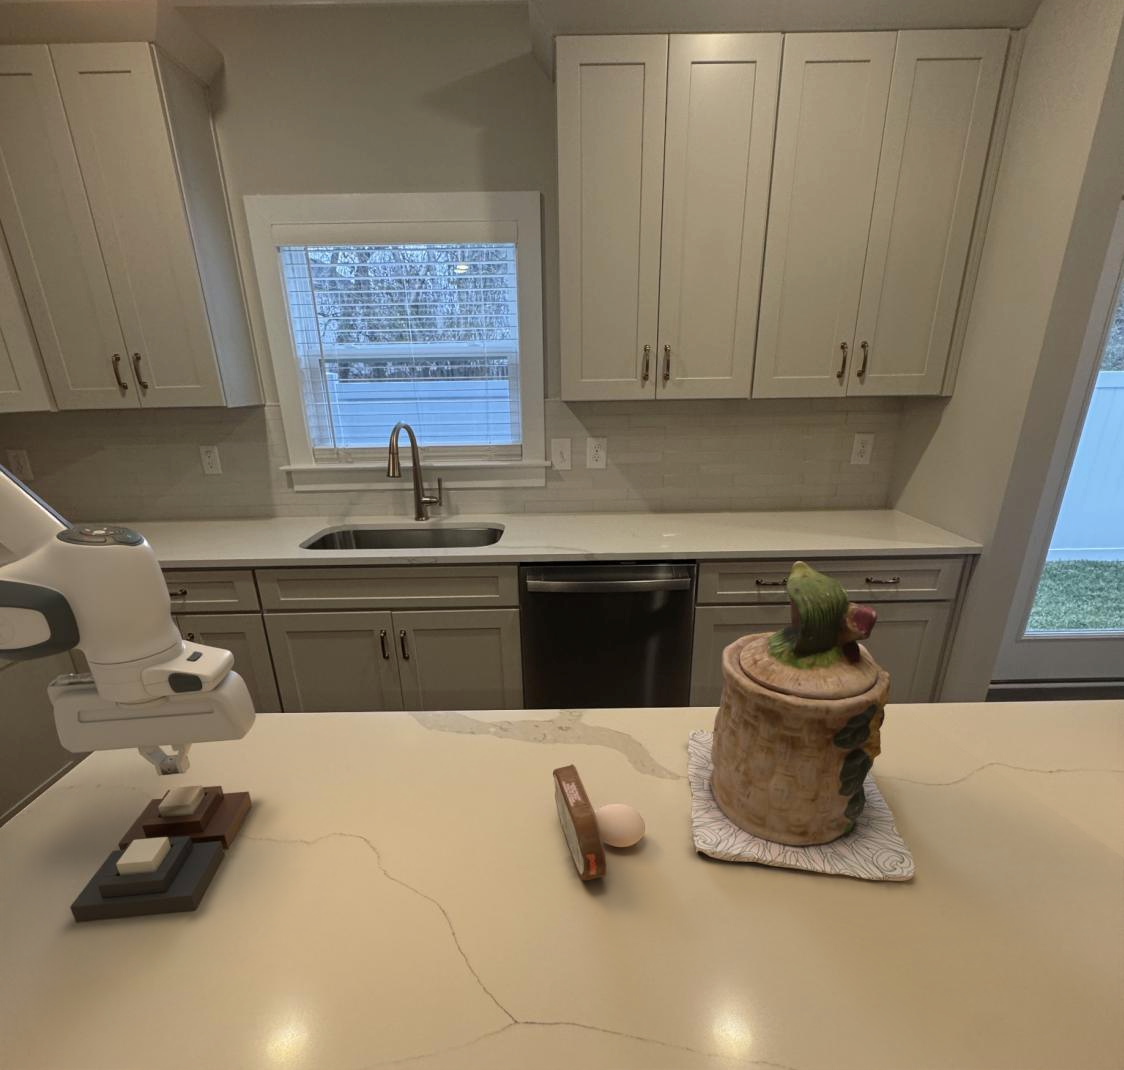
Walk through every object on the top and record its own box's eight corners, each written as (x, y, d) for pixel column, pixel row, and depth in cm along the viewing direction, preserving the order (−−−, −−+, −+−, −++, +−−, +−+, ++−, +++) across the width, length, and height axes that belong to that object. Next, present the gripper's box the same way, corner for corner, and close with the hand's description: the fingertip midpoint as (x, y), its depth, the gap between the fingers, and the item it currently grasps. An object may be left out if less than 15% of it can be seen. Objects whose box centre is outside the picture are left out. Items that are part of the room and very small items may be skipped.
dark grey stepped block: (75, 922, 65) (63, 894, 63) (118, 865, 72) (108, 838, 70) (195, 910, 66) (186, 882, 64) (225, 855, 73) (217, 828, 72)
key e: (161, 818, 74) (157, 806, 73) (175, 798, 77) (172, 787, 77) (193, 816, 74) (189, 804, 74) (205, 796, 78) (202, 785, 77)
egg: (642, 859, 71) (585, 851, 73) (645, 833, 76) (592, 825, 77) (644, 823, 70) (586, 816, 71) (647, 799, 74) (593, 792, 76)
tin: (608, 893, 67) (609, 832, 64) (580, 899, 66) (580, 838, 63) (574, 803, 81) (573, 750, 78) (550, 807, 80) (549, 753, 77)
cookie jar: (690, 862, 71) (711, 606, 59) (685, 740, 93) (700, 537, 81) (920, 888, 67) (993, 619, 55) (858, 755, 90) (900, 543, 78)
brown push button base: (122, 858, 73) (113, 832, 71) (156, 812, 80) (148, 787, 79) (228, 849, 74) (221, 822, 73) (252, 804, 81) (245, 780, 80)
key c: (120, 876, 66) (115, 864, 65) (137, 851, 69) (133, 839, 68) (155, 873, 66) (151, 860, 65) (171, 848, 69) (167, 836, 69)
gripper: (22, 690, 65) (65, 796, 70) (225, 676, 67) (252, 780, 72) (61, 663, 71) (98, 763, 76) (246, 650, 72) (270, 749, 78)
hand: (174, 771), depth 74 cm, fingers closed
